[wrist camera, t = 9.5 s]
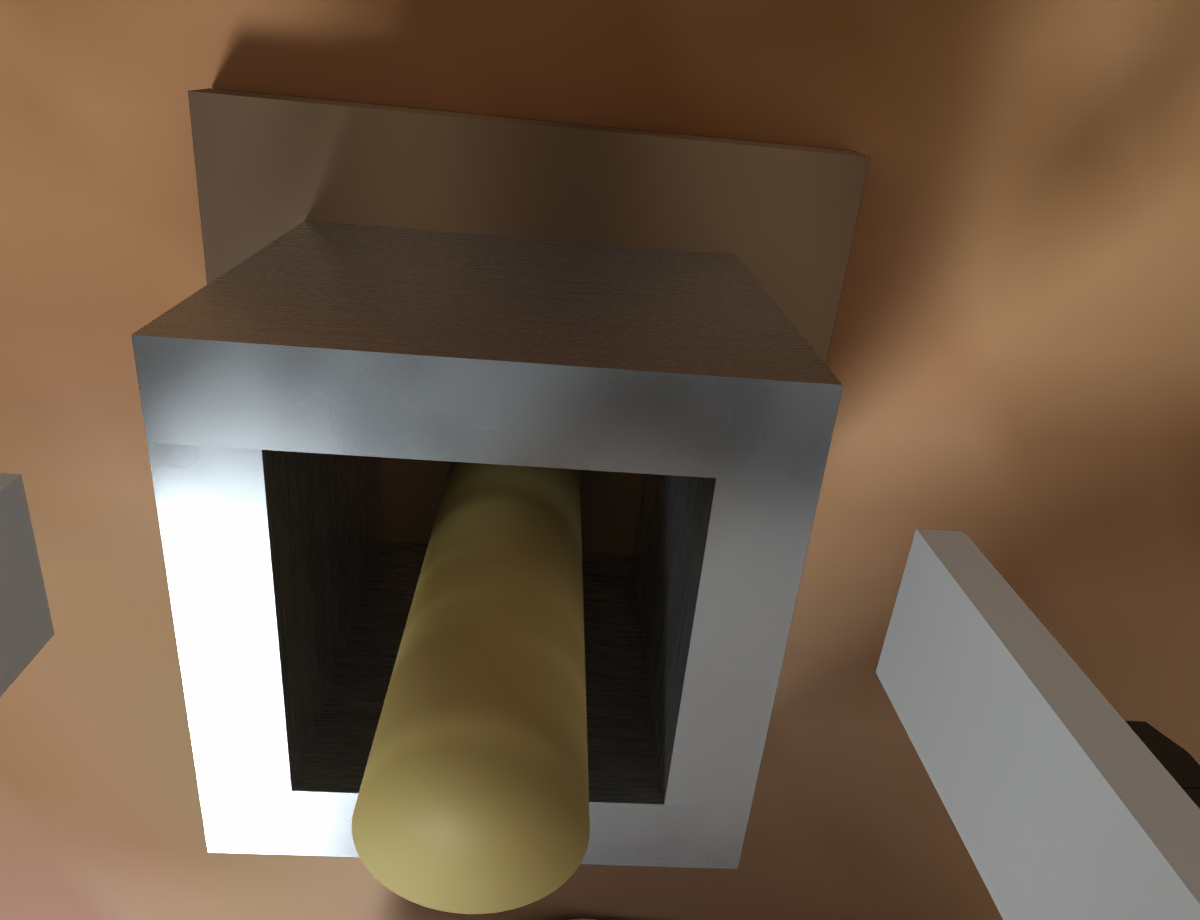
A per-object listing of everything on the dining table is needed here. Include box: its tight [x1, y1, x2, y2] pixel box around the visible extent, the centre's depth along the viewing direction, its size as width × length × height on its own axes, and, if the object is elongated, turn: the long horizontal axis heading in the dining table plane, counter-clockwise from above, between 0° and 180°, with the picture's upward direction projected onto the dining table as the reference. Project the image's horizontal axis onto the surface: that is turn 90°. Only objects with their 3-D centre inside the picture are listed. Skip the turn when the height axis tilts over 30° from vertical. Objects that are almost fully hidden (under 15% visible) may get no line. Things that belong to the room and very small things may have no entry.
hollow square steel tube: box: [131, 220, 843, 869], centre depth 15 cm, size 8×8×7 cm
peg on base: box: [188, 88, 870, 914], centre depth 14 cm, size 12×12×11 cm
